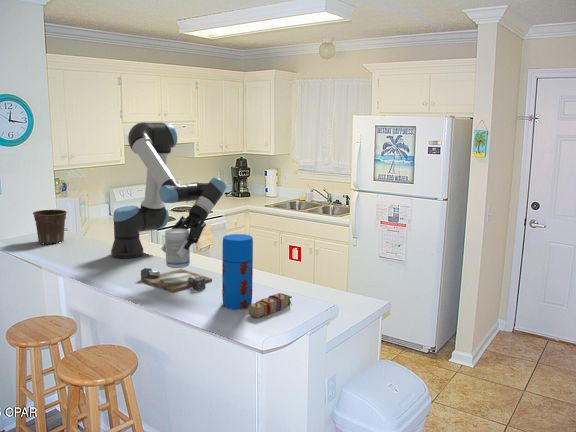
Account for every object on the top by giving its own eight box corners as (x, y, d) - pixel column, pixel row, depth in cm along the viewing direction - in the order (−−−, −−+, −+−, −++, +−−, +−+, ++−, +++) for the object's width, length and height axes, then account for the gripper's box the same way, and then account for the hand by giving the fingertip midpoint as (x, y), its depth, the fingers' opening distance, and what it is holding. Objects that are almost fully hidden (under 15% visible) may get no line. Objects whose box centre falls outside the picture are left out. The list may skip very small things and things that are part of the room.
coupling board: (142, 281, 212) (142, 278, 212) (181, 271, 228) (181, 268, 227) (172, 292, 200) (172, 288, 200) (212, 281, 215) (212, 277, 215)
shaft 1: (160, 278, 217) (160, 269, 216) (156, 281, 213) (156, 272, 212) (145, 277, 218) (144, 268, 217) (140, 280, 214) (140, 270, 214)
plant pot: (75, 240, 279) (73, 211, 277) (51, 247, 265) (50, 215, 262) (51, 237, 285) (50, 208, 282) (27, 243, 270) (25, 213, 267)
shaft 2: (186, 286, 207) (185, 277, 207) (193, 284, 210) (193, 275, 210) (197, 290, 203) (197, 280, 202) (205, 288, 206) (205, 278, 205)
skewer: (259, 320, 175) (259, 306, 174) (245, 316, 179) (246, 302, 178) (298, 305, 190) (298, 292, 190) (284, 301, 194) (285, 288, 194)
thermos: (218, 301, 192) (219, 235, 187) (246, 297, 196) (247, 233, 192) (227, 311, 182) (227, 241, 178) (256, 307, 186) (257, 239, 182)
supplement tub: (193, 267, 211) (193, 231, 208) (171, 270, 206) (170, 234, 203) (184, 261, 219) (183, 227, 216) (162, 264, 214) (161, 229, 211)
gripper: (224, 218, 214) (194, 263, 204) (189, 211, 228) (160, 253, 218) (214, 207, 209) (183, 252, 199) (179, 201, 223) (149, 243, 213)
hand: (171, 253), depth 209 cm, fingers closed on supplement tub, 9 cm apart
